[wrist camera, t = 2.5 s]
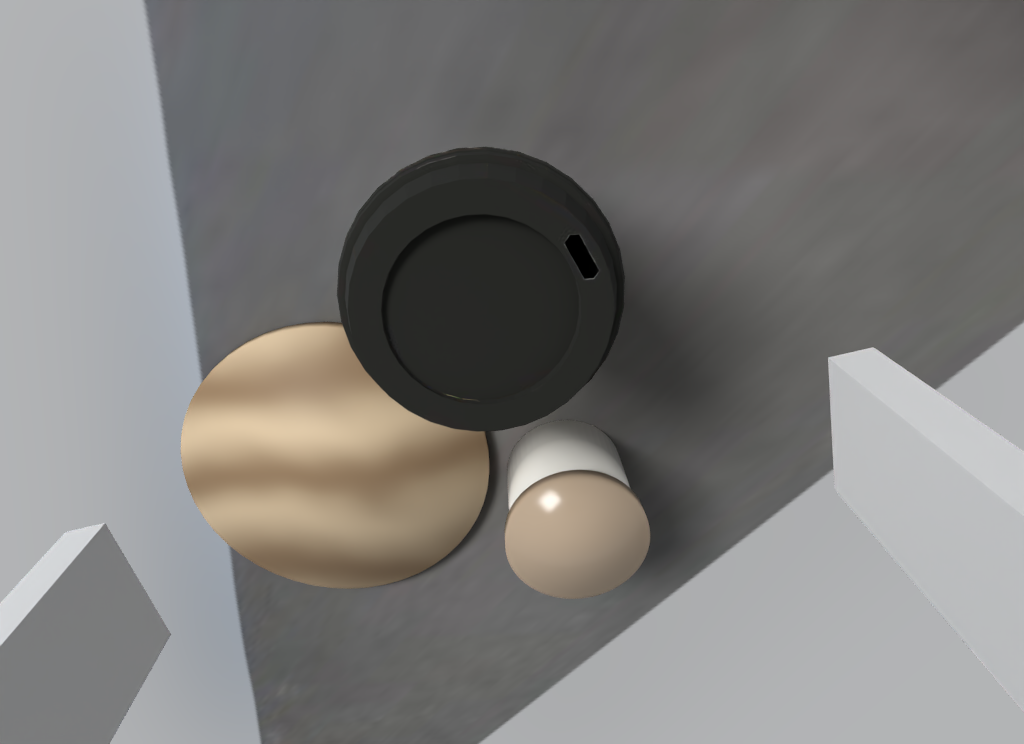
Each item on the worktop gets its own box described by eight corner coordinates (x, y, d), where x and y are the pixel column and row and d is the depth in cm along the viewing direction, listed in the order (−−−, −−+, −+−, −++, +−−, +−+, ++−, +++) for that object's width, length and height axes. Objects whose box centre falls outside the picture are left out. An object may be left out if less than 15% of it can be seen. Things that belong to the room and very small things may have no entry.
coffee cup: (349, 187, 34) (258, 263, 20) (516, 80, 32) (540, 84, 19) (454, 341, 38) (437, 494, 24) (609, 252, 36) (686, 362, 22)
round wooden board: (132, 363, 38) (125, 369, 37) (443, 288, 36) (442, 292, 36) (256, 604, 45) (252, 613, 44) (519, 547, 44) (519, 555, 43)
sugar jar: (488, 431, 40) (489, 498, 34) (613, 402, 40) (638, 465, 33) (517, 531, 43) (523, 611, 37) (633, 506, 43) (659, 582, 36)
